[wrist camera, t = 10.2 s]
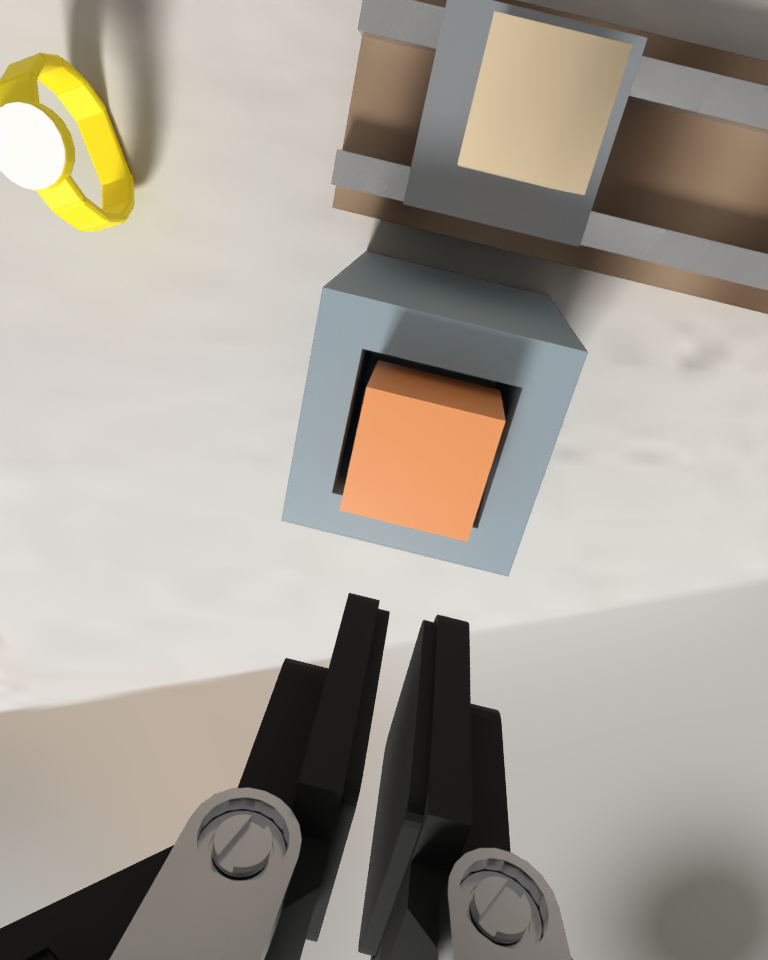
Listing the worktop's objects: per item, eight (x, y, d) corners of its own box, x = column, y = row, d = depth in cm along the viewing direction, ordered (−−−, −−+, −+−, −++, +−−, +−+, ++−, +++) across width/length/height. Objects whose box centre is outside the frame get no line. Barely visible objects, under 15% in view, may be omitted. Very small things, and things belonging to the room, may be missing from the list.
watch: (165, 209, 30) (103, 229, 24) (108, 226, 30) (37, 251, 25) (102, 52, 27) (18, 38, 22) (41, 75, 28) (-54, 67, 22)
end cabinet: (558, 298, 29) (601, 355, 20) (503, 465, 33) (519, 579, 23) (366, 251, 29) (322, 287, 20) (331, 423, 33) (281, 520, 24)
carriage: (625, 53, 23) (732, -24, 14) (566, 238, 25) (624, 276, 16) (450, 11, 23) (443, -94, 14) (409, 200, 25) (379, 217, 16)
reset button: (500, 389, 22) (505, 421, 19) (466, 499, 24) (467, 541, 21) (378, 360, 22) (366, 386, 19) (353, 471, 24) (339, 510, 21)
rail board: (989, 125, 25) (1046, 120, 23) (876, 337, 29) (915, 352, 26) (379, -23, 25) (370, -44, 23) (338, 205, 29) (326, 209, 26)
